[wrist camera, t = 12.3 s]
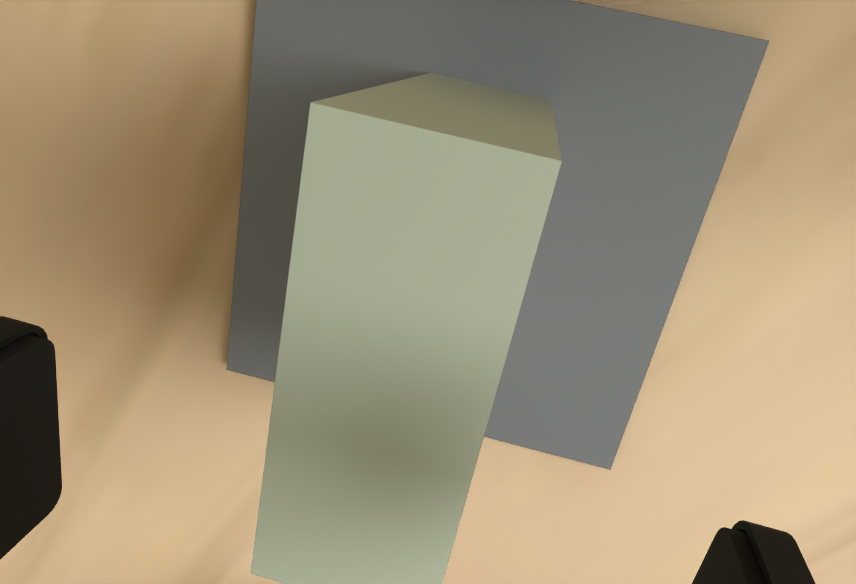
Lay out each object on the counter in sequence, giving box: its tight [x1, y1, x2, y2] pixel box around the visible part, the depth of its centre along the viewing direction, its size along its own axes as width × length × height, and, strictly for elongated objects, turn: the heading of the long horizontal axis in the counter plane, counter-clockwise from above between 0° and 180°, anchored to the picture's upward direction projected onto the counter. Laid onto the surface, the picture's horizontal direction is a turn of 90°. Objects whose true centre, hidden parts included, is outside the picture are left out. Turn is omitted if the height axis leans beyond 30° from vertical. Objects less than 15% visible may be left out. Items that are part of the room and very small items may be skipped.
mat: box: [227, 0, 769, 469], centre depth 23 cm, size 16×16×1 cm
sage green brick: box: [251, 73, 562, 584], centre depth 17 cm, size 4×10×12 cm, turn 169°
